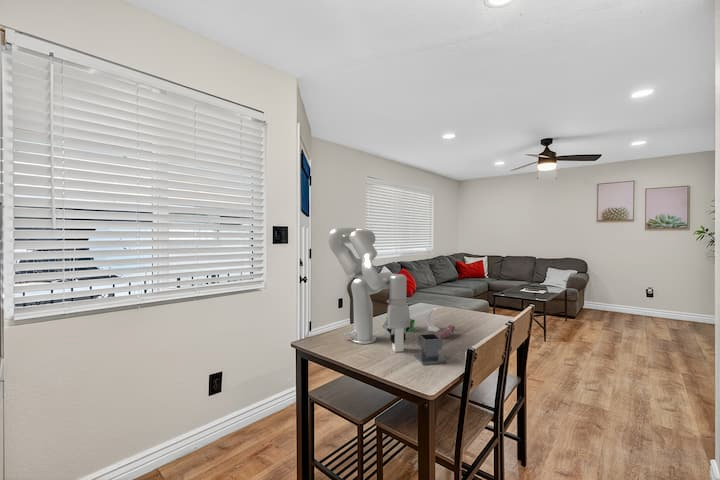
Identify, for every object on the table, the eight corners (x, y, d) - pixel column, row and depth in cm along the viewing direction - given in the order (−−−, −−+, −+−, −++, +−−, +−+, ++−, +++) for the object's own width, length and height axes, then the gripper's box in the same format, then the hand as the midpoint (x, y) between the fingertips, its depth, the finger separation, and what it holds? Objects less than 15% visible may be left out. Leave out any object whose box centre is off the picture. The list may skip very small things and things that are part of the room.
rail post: (394, 351, 139) (394, 325, 139) (392, 348, 143) (392, 322, 143) (403, 351, 140) (403, 324, 139) (400, 348, 144) (400, 322, 143)
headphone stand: (436, 331, 167) (436, 309, 167) (425, 330, 170) (425, 308, 170) (439, 329, 171) (439, 307, 170) (429, 327, 174) (429, 306, 174)
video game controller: (446, 342, 155) (452, 331, 153) (438, 337, 157) (444, 325, 155) (451, 336, 164) (458, 325, 162) (444, 331, 166) (450, 320, 164)
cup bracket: (423, 365, 125) (422, 341, 125) (414, 355, 135) (414, 333, 135) (446, 363, 127) (446, 339, 127) (436, 353, 137) (436, 332, 137)
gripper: (381, 304, 136) (382, 346, 136) (418, 303, 138) (418, 343, 139) (378, 300, 143) (378, 340, 144) (412, 299, 146) (412, 338, 146)
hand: (397, 341), depth 141 cm, fingers closed on rail post, 4 cm apart
